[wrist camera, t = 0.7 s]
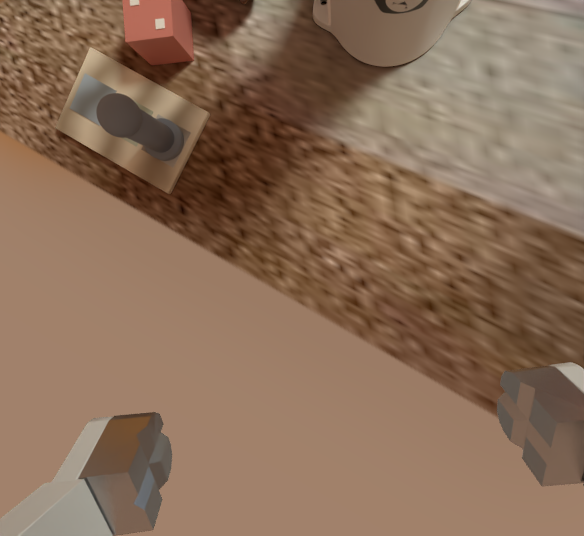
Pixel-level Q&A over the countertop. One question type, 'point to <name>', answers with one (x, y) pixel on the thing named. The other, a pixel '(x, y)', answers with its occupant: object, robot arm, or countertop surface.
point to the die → (159, 30)
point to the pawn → (139, 126)
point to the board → (150, 98)
